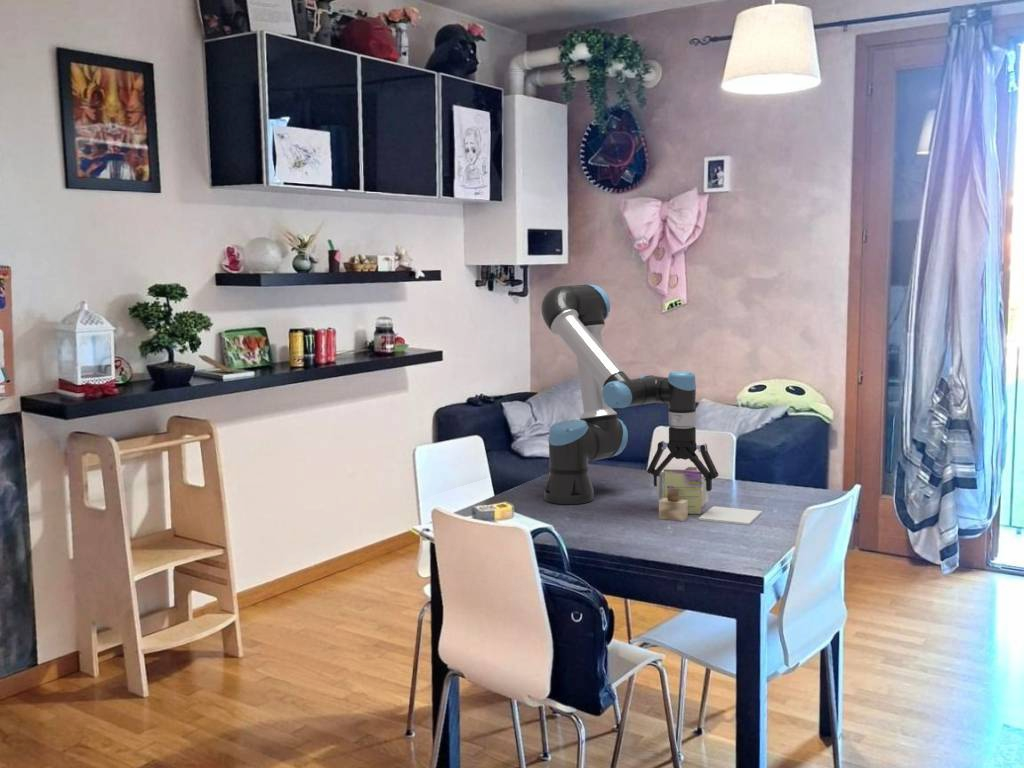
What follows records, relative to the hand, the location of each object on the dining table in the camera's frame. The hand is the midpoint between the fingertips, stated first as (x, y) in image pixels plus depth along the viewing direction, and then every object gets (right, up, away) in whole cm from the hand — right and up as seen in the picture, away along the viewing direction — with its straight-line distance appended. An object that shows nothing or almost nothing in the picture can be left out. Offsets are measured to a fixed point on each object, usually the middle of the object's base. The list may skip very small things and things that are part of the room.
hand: (682, 500), depth 282 cm
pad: (+12, -4, -6) cm, 14 cm away
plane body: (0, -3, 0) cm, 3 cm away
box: (0, -4, 0) cm, 4 cm away
